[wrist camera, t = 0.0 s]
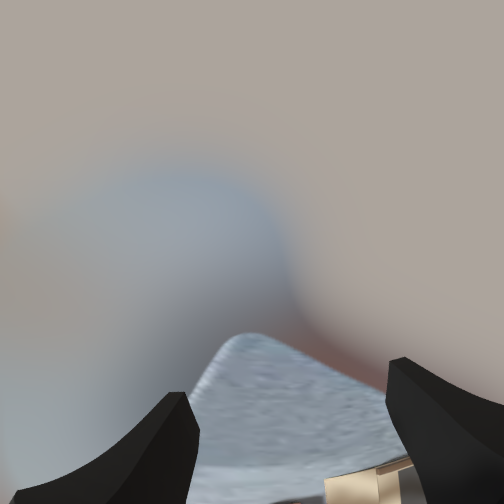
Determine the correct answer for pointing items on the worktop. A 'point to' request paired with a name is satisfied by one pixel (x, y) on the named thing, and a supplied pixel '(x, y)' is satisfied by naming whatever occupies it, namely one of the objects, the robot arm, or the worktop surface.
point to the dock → (377, 485)
